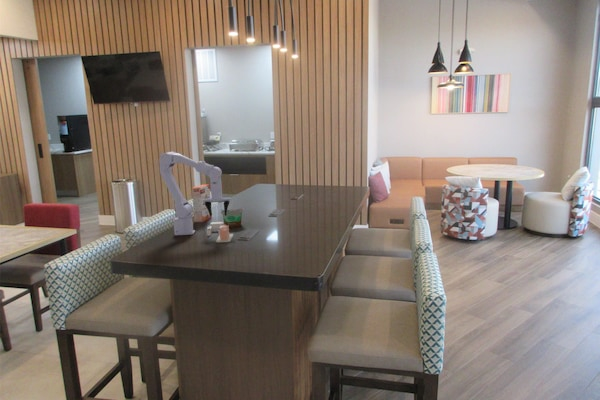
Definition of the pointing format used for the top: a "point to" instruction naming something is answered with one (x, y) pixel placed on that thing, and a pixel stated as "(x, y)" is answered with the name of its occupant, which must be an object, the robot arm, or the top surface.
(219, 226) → the white u-shaped piece
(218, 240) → the white rectangular board
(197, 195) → the cracker box
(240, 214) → the food container
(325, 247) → the top surface
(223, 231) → the salmon pink rectangular prism
